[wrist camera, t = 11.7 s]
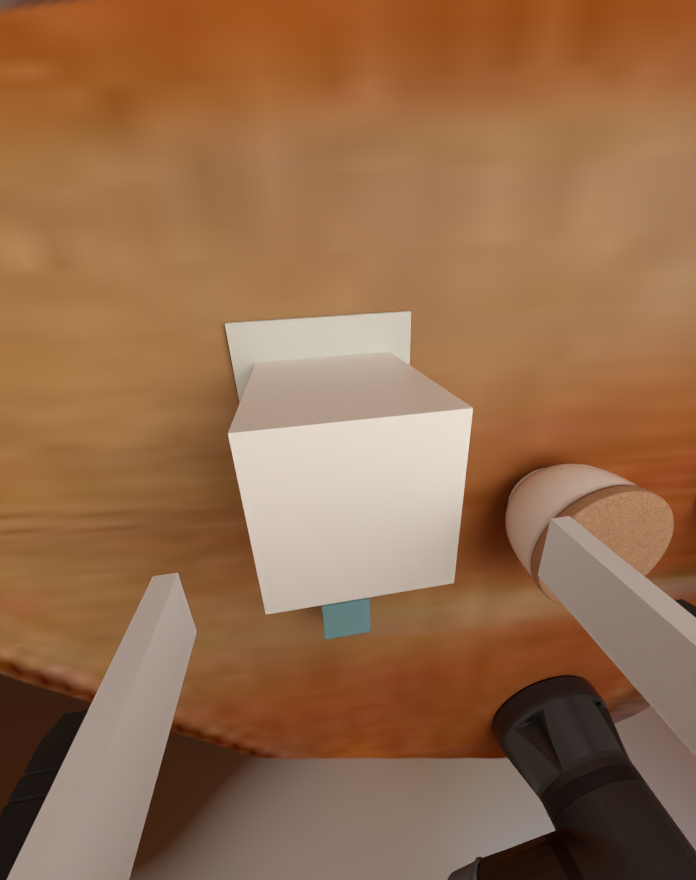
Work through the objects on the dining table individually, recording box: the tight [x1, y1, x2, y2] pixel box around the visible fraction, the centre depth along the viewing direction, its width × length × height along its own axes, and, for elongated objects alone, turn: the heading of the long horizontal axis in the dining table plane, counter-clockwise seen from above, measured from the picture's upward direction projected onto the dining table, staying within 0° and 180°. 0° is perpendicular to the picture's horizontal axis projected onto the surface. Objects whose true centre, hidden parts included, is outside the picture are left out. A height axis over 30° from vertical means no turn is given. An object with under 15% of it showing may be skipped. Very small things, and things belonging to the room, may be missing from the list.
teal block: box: [321, 597, 370, 640], centre depth 31 cm, size 4×4×4 cm
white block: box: [228, 352, 473, 615], centre depth 20 cm, size 9×9×12 cm
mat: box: [225, 311, 411, 403], centre depth 26 cm, size 14×12×1 cm
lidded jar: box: [505, 464, 674, 604], centre depth 28 cm, size 11×11×9 cm
